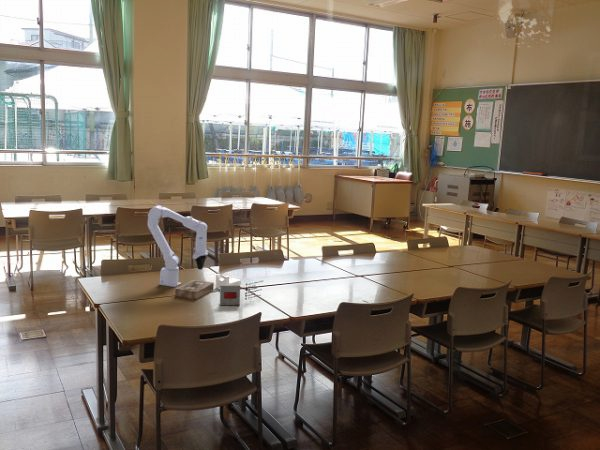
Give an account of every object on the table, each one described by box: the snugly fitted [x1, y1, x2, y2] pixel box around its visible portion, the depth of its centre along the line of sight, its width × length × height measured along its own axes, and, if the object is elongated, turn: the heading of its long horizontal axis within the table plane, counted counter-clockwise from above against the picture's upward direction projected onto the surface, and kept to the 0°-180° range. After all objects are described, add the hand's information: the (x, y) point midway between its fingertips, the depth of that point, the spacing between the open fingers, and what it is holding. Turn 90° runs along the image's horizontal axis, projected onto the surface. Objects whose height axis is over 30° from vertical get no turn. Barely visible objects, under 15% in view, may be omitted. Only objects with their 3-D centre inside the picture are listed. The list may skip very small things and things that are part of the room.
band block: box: [174, 279, 215, 300], centre depth 293 cm, size 12×20×4 cm, turn 164°
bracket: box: [215, 273, 242, 289], centre depth 309 cm, size 13×7×8 cm, turn 148°
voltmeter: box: [219, 280, 263, 306], centre depth 284 cm, size 27×11×10 cm, turn 139°
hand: (200, 269), depth 306 cm, fingers closed
